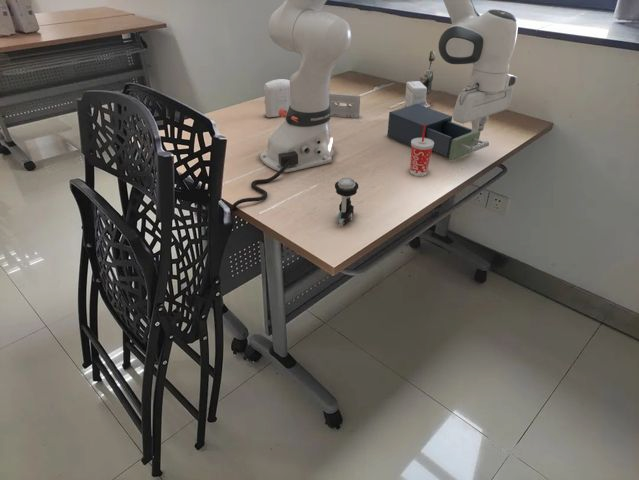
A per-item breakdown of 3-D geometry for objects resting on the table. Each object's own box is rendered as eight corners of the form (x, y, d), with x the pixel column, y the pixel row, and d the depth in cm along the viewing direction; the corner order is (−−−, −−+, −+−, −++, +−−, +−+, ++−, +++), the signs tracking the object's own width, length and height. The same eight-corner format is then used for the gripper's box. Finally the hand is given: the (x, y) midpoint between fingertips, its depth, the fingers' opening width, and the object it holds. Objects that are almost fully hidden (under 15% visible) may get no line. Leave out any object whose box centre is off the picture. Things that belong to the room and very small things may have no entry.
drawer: (490, 156, 132) (495, 136, 128) (465, 167, 127) (470, 146, 123) (441, 136, 144) (444, 117, 140) (416, 145, 138) (419, 126, 135)
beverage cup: (402, 171, 127) (408, 123, 118) (417, 165, 130) (424, 118, 121) (418, 179, 123) (425, 130, 115) (434, 173, 126) (442, 124, 117)
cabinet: (448, 141, 143) (452, 116, 138) (421, 151, 137) (424, 126, 132) (413, 127, 153) (416, 103, 148) (387, 136, 146) (389, 112, 142)
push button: (350, 230, 103) (352, 191, 97) (328, 225, 105) (329, 187, 99) (359, 215, 108) (361, 178, 102) (338, 211, 110) (339, 174, 104)
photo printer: (290, 110, 166) (289, 76, 159) (295, 114, 163) (293, 79, 156) (264, 115, 162) (261, 80, 155) (268, 119, 159) (265, 83, 152)
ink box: (424, 122, 156) (428, 88, 149) (409, 123, 155) (413, 88, 148) (416, 113, 163) (420, 80, 156) (402, 114, 162) (406, 81, 155)
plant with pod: (436, 101, 173) (444, 46, 161) (426, 111, 165) (435, 53, 153) (415, 98, 176) (422, 43, 165) (405, 107, 168) (412, 50, 156)
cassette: (325, 115, 162) (325, 94, 157) (327, 113, 163) (327, 92, 159) (358, 118, 159) (359, 96, 155) (359, 116, 161) (360, 95, 156)
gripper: (472, 90, 110) (461, 143, 118) (521, 76, 120) (508, 126, 128) (452, 84, 114) (443, 136, 122) (501, 71, 124) (489, 120, 132)
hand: (477, 131), depth 125 cm, fingers closed
